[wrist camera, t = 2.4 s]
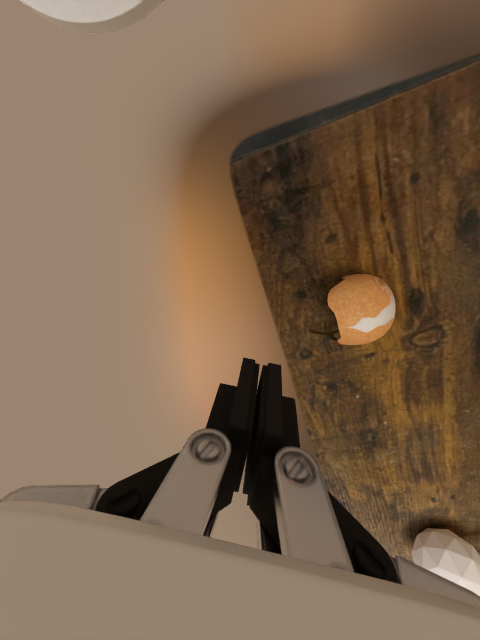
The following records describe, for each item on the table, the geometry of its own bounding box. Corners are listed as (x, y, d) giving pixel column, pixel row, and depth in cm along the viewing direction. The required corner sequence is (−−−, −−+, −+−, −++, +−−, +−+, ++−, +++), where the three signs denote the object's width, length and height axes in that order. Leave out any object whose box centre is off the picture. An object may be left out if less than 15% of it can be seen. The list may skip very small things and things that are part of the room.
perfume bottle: (406, 542, 32) (508, 519, 31) (393, 531, 39) (477, 511, 38) (447, 635, 28) (569, 613, 26) (426, 605, 35) (522, 586, 33)
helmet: (327, 319, 29) (410, 319, 23) (296, 352, 25) (387, 363, 19) (314, 269, 27) (401, 257, 21) (278, 297, 23) (373, 291, 17)
